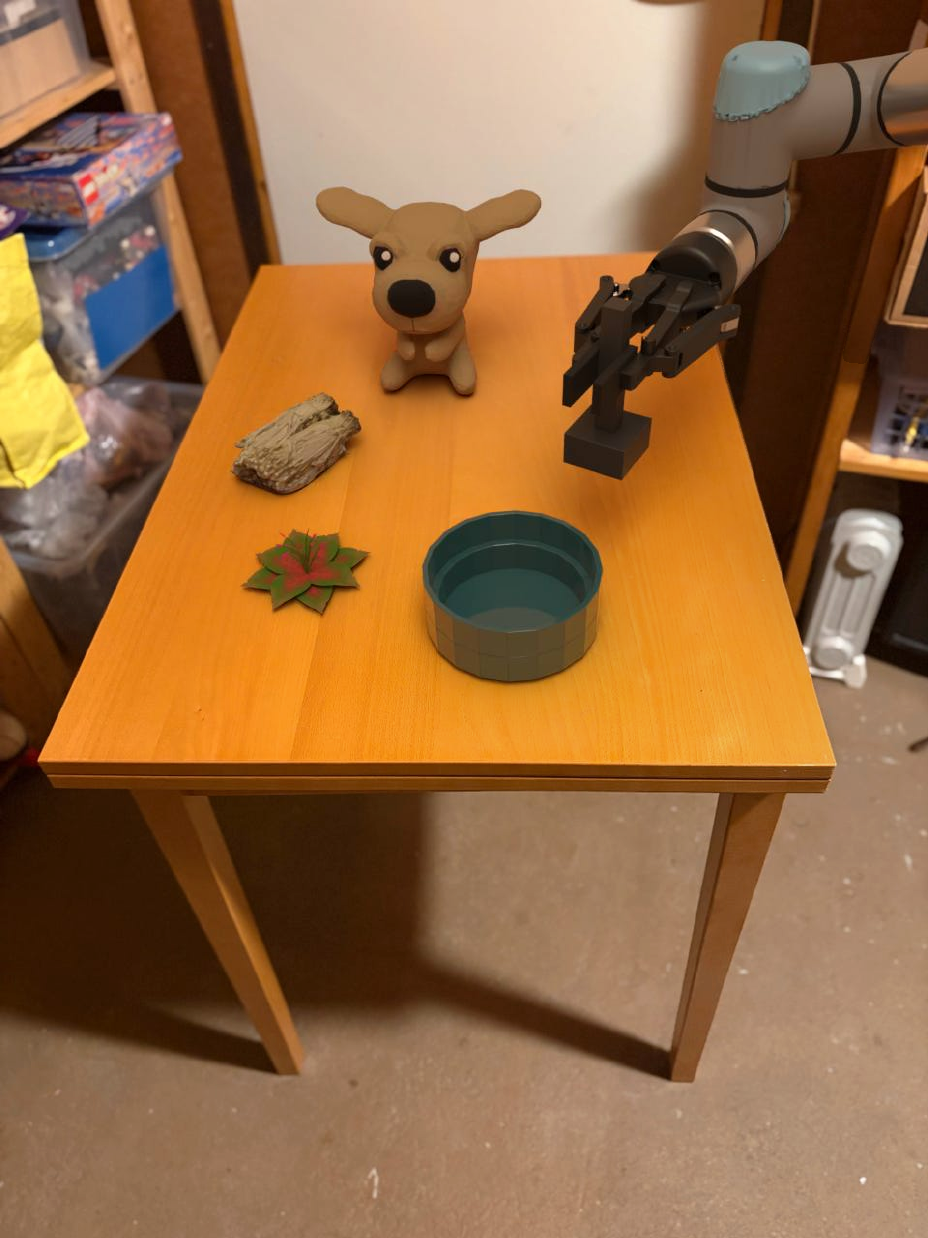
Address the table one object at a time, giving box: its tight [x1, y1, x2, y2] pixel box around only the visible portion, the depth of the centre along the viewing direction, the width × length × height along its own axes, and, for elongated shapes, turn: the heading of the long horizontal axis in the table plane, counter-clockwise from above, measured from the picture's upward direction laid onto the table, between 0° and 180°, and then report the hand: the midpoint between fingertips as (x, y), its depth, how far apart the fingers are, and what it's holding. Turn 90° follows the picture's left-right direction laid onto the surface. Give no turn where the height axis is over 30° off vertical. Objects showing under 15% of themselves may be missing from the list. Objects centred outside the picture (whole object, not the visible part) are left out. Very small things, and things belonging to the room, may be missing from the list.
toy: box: [315, 186, 542, 395], centre depth 105 cm, size 25×20×20 cm
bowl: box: [421, 509, 604, 682], centre depth 80 cm, size 15×15×6 cm
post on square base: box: [562, 297, 653, 481], centre depth 76 cm, size 6×6×14 cm
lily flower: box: [239, 528, 372, 615], centre depth 86 cm, size 12×12×5 cm
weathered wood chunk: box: [229, 391, 362, 495], centre depth 99 cm, size 14×10×5 cm, turn 142°
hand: (581, 395), depth 71 cm, fingers closed on post on square base, 2 cm apart
